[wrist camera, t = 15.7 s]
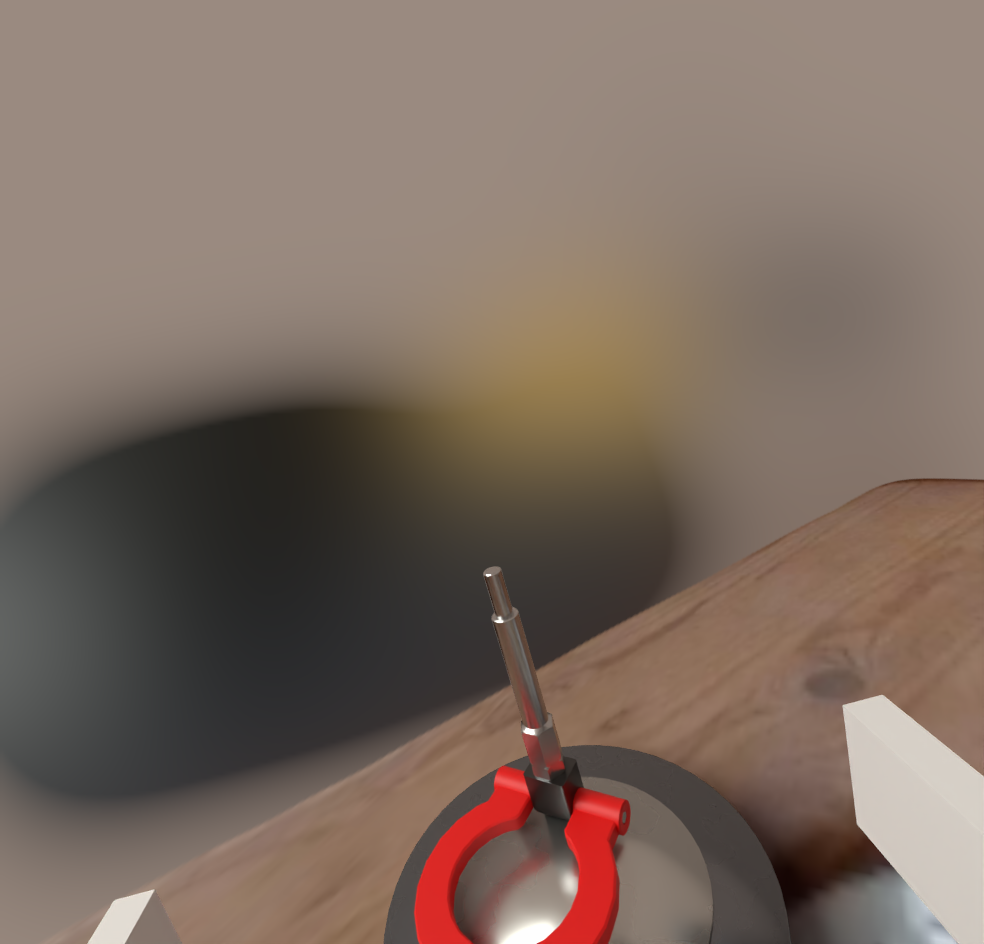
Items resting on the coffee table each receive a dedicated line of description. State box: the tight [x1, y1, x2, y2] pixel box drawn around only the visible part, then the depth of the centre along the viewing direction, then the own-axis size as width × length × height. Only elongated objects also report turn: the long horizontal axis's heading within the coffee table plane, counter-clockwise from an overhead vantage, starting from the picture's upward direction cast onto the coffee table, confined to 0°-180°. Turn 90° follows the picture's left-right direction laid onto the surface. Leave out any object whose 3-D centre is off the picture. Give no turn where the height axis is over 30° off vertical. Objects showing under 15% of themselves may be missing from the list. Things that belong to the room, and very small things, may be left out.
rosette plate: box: [384, 745, 791, 944], centre depth 23 cm, size 16×16×3 cm
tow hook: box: [414, 567, 631, 944], centre depth 22 cm, size 8×13×9 cm
